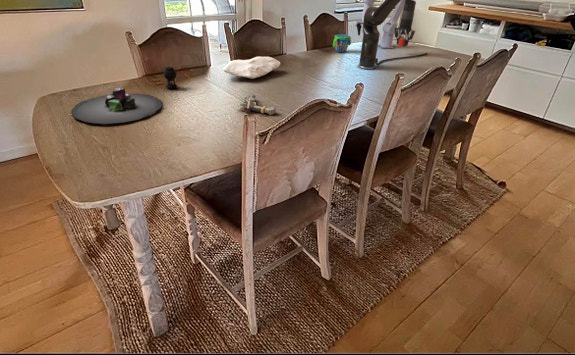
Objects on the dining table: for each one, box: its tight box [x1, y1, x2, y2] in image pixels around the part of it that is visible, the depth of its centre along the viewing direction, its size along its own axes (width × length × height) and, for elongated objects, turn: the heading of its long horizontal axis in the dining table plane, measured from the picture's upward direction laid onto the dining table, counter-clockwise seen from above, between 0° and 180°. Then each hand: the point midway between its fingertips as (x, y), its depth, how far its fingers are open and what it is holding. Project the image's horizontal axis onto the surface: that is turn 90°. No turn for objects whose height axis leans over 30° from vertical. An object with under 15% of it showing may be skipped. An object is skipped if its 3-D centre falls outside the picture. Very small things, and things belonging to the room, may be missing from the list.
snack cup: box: [332, 34, 352, 53], centre depth 246 cm, size 16×10×10 cm
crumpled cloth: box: [222, 56, 281, 80], centre depth 195 cm, size 24×35×9 cm
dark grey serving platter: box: [70, 86, 163, 125], centre depth 150 cm, size 35×35×9 cm
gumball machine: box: [161, 66, 179, 90], centre depth 173 cm, size 7×6×10 cm
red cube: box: [397, 37, 406, 48], centre depth 243 cm, size 5×5×5 cm
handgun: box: [239, 93, 277, 116], centre depth 158 cm, size 3×18×15 cm
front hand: (401, 45), depth 244 cm, fingers closed on red cube, 5 cm apart
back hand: (363, 35), depth 257 cm, fingers open, 7 cm apart
